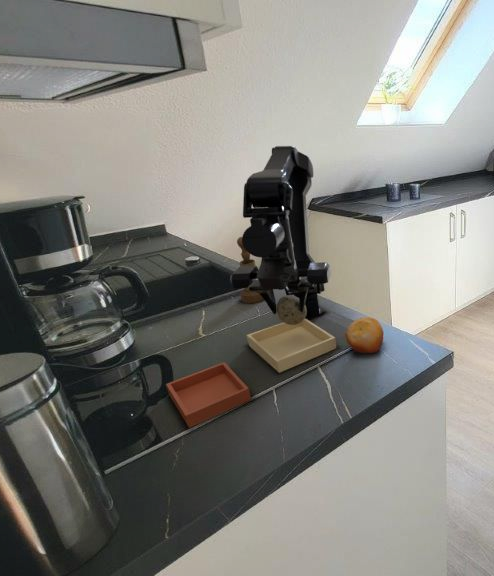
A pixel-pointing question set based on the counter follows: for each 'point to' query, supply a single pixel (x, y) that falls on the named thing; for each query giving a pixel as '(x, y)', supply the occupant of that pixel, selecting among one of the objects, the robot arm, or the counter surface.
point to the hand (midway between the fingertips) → (288, 312)
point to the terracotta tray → (208, 393)
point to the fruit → (365, 335)
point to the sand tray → (291, 344)
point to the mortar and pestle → (246, 294)
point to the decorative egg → (290, 310)
